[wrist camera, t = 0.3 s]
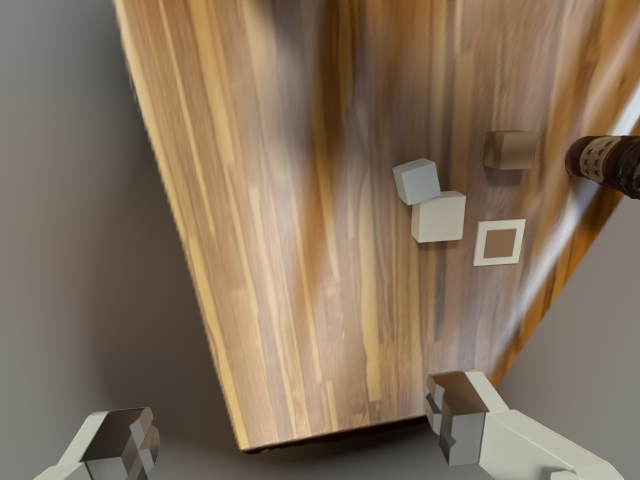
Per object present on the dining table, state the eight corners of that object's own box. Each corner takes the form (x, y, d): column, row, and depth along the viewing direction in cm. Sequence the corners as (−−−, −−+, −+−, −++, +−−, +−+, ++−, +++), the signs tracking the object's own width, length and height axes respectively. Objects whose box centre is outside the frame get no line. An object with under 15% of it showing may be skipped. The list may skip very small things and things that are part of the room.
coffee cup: (548, 179, 59) (616, 198, 47) (566, 126, 56) (644, 132, 44) (596, 184, 60) (674, 205, 48) (616, 133, 57) (705, 141, 45)
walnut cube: (486, 131, 55) (504, 134, 51) (517, 130, 56) (538, 132, 51) (482, 164, 57) (499, 170, 52) (512, 163, 57) (532, 168, 53)
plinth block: (412, 193, 58) (420, 199, 54) (454, 190, 58) (466, 196, 55) (410, 234, 61) (418, 242, 57) (451, 230, 61) (461, 239, 57)
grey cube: (391, 167, 56) (401, 173, 51) (422, 157, 56) (435, 162, 51) (398, 197, 58) (408, 205, 53) (428, 187, 58) (441, 195, 53)
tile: (478, 221, 60) (480, 223, 60) (524, 218, 61) (526, 220, 60) (472, 265, 63) (474, 266, 63) (516, 262, 64) (519, 263, 63)
